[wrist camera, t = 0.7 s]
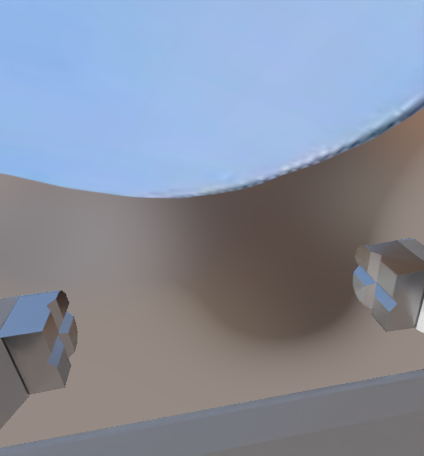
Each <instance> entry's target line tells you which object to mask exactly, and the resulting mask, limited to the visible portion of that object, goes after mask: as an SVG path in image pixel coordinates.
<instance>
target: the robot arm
mask: <svg viewBox="0 0 424 456" xmlns="http://www.w3.org/2000/svg"><path fill="white" fill-rule="evenodd" d="M355 260H356V261H357V263H358V264H359V267H358V268H357V269H356V270H355V272H354V273H353V287H354V292H355V294H356V296H357V298H358V299H359V301H360V302H361V303H362V304H363V305H365V306H368V307H370V308H372V316H373V317H374V319H375V320H376V321H377V322H378V323H379V324H380V325H381V327H382V328H383V329H384V330H385V332H388V331H394V330H401V329H408V328H415V327H416V329H417V330H419V331H421V332H423V333H424V245H422V244H421V243H420V242H418V241H417V240H415V239H412V238H406V239H401V240H396V241H391V242H385V243H379V244H373V245H368V246H361V247H359V248H358V250H357V252H356V257H355ZM68 305H69V301H68V298H67V296H66V293H64V292H63V291H61V290H60V291H53V292H45V293H37V294H29V295H23V296H14V297H8V298H3V299H0V429H1V428H2V427H3V425H4V424H5V423H6V422H7V421H8V420H9V419H10V418H11V416H12V415H13V414H14V413H15V412H16V411H17V410H18V408H19V407H20V406H21V405H22V404H23V403H24V402H25V400H26V399H27V398H28V397H29V396H28V395H30V394H35V393H40V392H45V391H50V390H55V389H59V388H65V385H66V382H67V378H68V374H69V371H70V368H71V364H70V361H69V359H68V358H69V357H70V356H71V355H72V354H73V353H74V352H75V349H76V345H77V326H76V322H75V319H74V316H72V315H71V314H70V313H68V312H67V308H68ZM0 456H424V369H422V370H416V371H411V372H405V373H400V374H395V375H389V376H384V377H378V378H373V379H367V380H362V381H357V382H351V383H345V384H340V385H335V386H329V387H325V388H318V389H313V390H308V391H302V392H297V393H292V394H287V395H281V396H276V397H271V398H265V399H260V400H255V401H249V402H244V403H238V404H233V405H228V406H222V407H217V408H212V409H206V410H201V411H196V412H190V413H185V414H180V415H174V416H169V417H163V418H158V419H153V420H148V421H142V422H137V423H132V424H126V425H121V426H116V427H110V428H105V429H99V430H94V431H89V432H84V433H78V434H73V435H67V436H62V437H57V438H51V439H46V440H40V441H35V442H30V443H24V444H19V445H13V446H9V447H3V448H0Z"/></svg>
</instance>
